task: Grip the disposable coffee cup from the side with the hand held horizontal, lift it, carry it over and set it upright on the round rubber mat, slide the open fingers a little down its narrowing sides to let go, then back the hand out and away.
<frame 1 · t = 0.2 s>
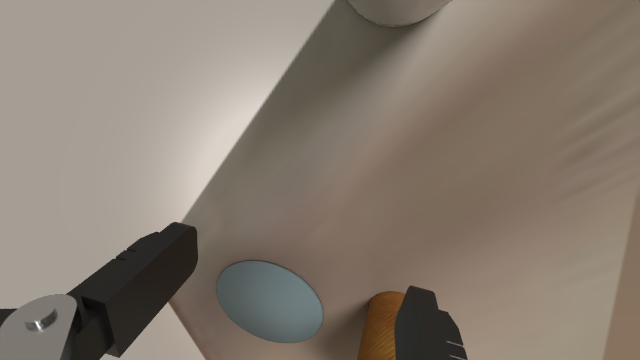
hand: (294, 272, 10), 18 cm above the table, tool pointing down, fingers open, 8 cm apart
disposable coffee cup: (394, 308, 34), on the table
mat: (268, 304, 39), on the table
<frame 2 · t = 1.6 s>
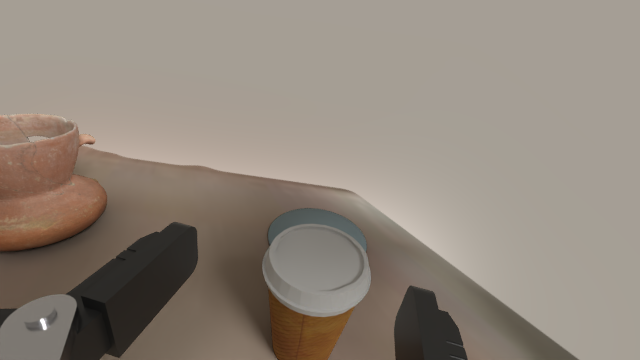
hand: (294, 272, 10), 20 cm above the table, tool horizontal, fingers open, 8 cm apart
ceramic jug: (40, 229, 37), on the table
disposable coffee cup: (302, 341, 29), on the table
mat: (317, 237, 44), on the table
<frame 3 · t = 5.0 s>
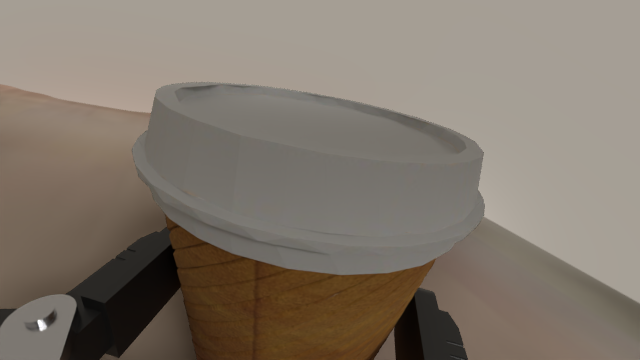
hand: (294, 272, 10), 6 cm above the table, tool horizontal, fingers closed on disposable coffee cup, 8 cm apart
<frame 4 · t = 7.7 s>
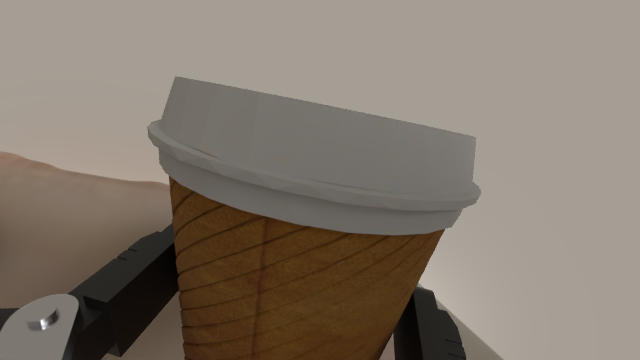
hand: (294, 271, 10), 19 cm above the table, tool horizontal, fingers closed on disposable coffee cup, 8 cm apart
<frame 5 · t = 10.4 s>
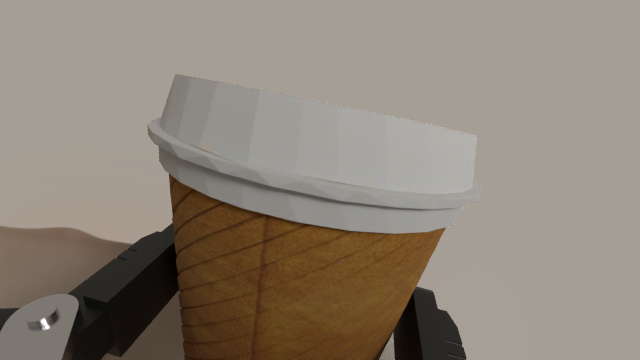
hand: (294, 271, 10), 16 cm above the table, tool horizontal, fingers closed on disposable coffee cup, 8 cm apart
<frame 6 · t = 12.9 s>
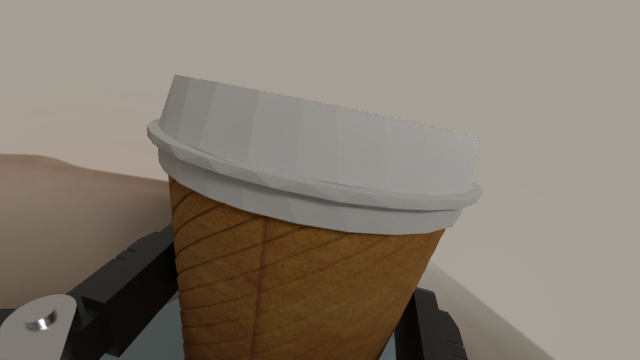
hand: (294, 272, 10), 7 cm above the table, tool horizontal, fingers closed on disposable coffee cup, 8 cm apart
when the fingers open (6 cm above the table, at t = 15.4 s): disposable coffee cup stays where it is, resting on mat.
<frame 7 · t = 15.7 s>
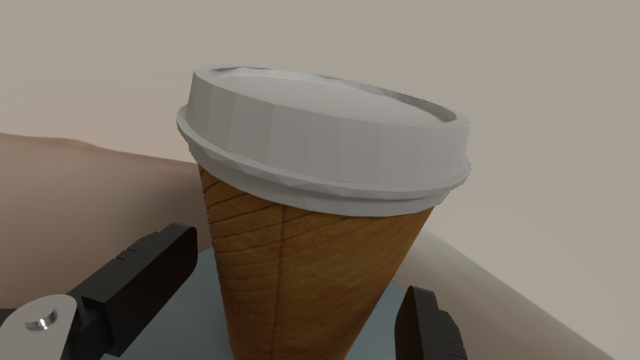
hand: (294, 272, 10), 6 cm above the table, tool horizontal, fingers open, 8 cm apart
disposable coffee cup: (290, 326, 14), resting on mat
mat: (287, 336, 14), on the table
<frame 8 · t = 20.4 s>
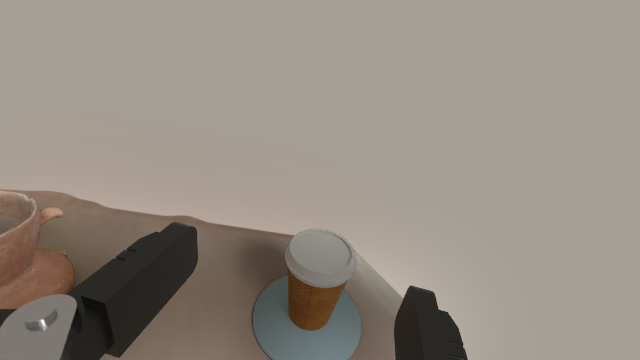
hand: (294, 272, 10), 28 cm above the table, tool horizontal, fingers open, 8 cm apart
disposable coffee cup: (308, 312, 41), resting on mat
mat: (308, 315, 40), on the table
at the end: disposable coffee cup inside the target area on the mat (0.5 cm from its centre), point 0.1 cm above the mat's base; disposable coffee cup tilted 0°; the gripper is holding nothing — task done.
